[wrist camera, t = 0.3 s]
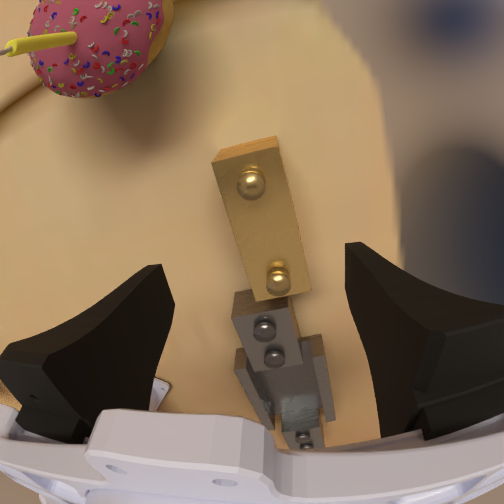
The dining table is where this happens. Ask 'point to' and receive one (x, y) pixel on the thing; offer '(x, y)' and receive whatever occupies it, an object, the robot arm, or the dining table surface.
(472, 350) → the robot arm
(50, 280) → the dining table surface
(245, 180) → the brass link
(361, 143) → the dining table surface
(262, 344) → the chain
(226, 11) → the dining table surface
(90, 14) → the cupcake
